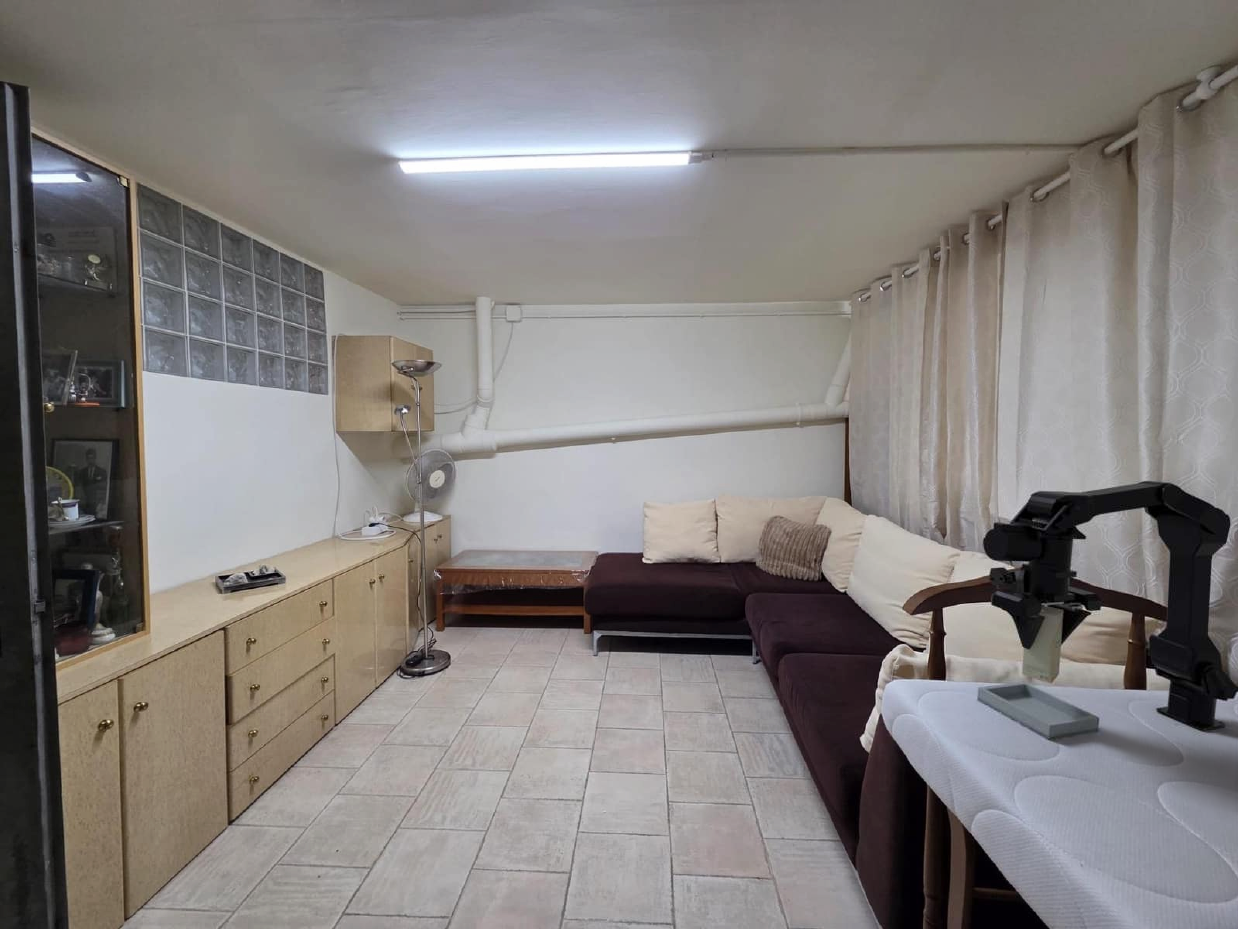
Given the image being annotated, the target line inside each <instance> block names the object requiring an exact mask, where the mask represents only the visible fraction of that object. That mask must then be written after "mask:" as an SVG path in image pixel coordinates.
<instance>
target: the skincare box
mask: <svg viewBox="0 0 1238 929" xmlns="http://www.w3.org/2000/svg"><path fill="white" fill-rule="evenodd" d="M1038 615H1041V616H1044V617H1045V619H1044V621H1043V623H1042V626H1041V628H1040V630H1039V632H1038V634H1037V636H1036V639H1035V641H1034V643H1033V645H1032V646H1031V648H1030V649H1026V648H1024V647H1023V649H1022V650H1023V651H1022V652H1023V653H1022V664H1021V675H1023V676H1026V677H1028V678H1031V679H1036V680H1038V681H1042V682H1045V683H1049V684H1053V682H1054V681H1055V680H1056V679H1057V678H1058V676H1059V675H1060V667H1061V666H1060V662H1061V650H1062V645H1061V638H1062V624H1063V610H1062V609H1057V608H1052V607H1047V606H1042V610H1041V612H1040V613H1039V614H1038Z"/></svg>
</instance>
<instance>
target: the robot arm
mask: <svg viewBox="0 0 1238 929" xmlns="http://www.w3.org/2000/svg"><path fill="white" fill-rule="evenodd" d="M1137 509H1144V512H1145V513H1146V514H1147V515H1148V516H1150V517H1151V518H1152V519H1153V520H1155V521H1156V523H1157V532H1158V537H1159V538H1160V539H1161V540H1162V542H1163V544H1164V545H1165V546H1166V548H1167V549H1168V551H1169V566H1168V567H1169V569H1168V588H1167V589H1168V590H1167V608H1166V609H1167V611H1166V627H1165V628H1164V629H1163V630H1162V631H1161V632H1160V633H1158V634H1157V635H1156V634H1150V636H1149V638H1148V643H1149V648H1148V651H1147V656H1150V661H1151V664H1153V667H1154V670H1155V675H1156V676H1158V677H1162V678H1163V679H1166V680H1167V681H1169V690H1168V696H1167V698H1168V699H1167V706H1162V707H1156V708H1155V711H1156V712H1158V713H1160V714H1162V715H1164V716H1167V717H1169V718H1172V719H1175V720H1176V721H1179V722H1181V723H1183V724H1185V725H1188V726H1189V727H1190V726H1191V727H1193V728H1195V729H1197V730H1199V731H1200V730H1201V731H1209V730H1214V729H1220V728H1225V727H1226V723H1225V722H1223V721H1220V720H1218V719H1216V710H1217V709H1216V708H1217V702H1218V700H1220V701H1222V702H1223V701H1224V702H1228V701H1229V700H1234V699H1235V697H1236V695H1237V692H1238V685H1236V684H1235V682H1234V681H1233V680H1232V679H1231V678H1230V677H1229V676H1228V674H1226V672H1225V671H1224V670H1223V664H1222V656H1221V652H1220V651H1219V649H1218V647H1217V646H1216V645H1215V644H1214V641H1212V639H1211V637H1210V635H1209V624H1210V623H1209V620H1210V619H1209V618H1210V605H1211V604H1210V603H1211V601H1210V600H1211V584H1212V565H1213V564H1212V563H1213V556H1214V555H1215V554H1216V553H1217V552H1218V551H1219V550H1220V549H1221V548H1223V547H1224V546H1225V545H1226V544H1227V542H1228V539H1229V533H1230V529H1231V518H1230V515H1229V514H1227V513H1226V512H1225V511H1224V510H1222V509H1221V508H1219V507H1215V506H1214V505H1213V504H1212V503H1209V502H1207V501H1206V500H1203V499H1201V498H1199V497H1197V496H1195V495H1193V494H1190V493H1189V492H1186V491H1185V490H1184V489H1183V488H1181V487H1180V486H1178V485H1176V484H1174V483H1172V482H1165V481H1154V480H1153V481H1152V480H1143V481H1140V482H1137V483H1132V484H1126V485H1120V486H1119V485H1118V486H1113V487H1107V488H1100V489H1093V490H1088V491H1087V490H1086V491H1081V492H1080V491H1079V492H1076V491H1074V492H1073V491H1058V490H1057V491H1056V490H1055V491H1053V490H1051V491H1050V490H1039V491H1036V492H1033V493H1032V494H1030V497H1029V499H1028V500H1027V502H1026V503H1025V504H1024V505H1023V507H1022V508H1020V510H1019V511H1018V513H1016V515H1015V516H1014V517H1013V519H1012V520H1011V521H1010V522H1009V523H1006V522H998V521H996V522H994V523H993V528H992V529H989V530H988V531H987V533H986V534H985V535H984V536H985V537H983V540H982V545H983V546H982V547H983V550H984V553H985V554H986V556H987V557H988V558H989V559H990V560H992V561H996V562H997V561H998V562H1027V563H1022V564H1021V565H1020V568H1019V569H1020V570H1018V571H1008V569H1007V568H1006V567H991V568H990V570H989V574H988V580H989V582H990V584H992V585H993V586H996V589H997V590H996V591H995V592H993V593H991V598H990V599H991V600H990V604H991V606H993V607H996V608H999V609H1000V610H1002V611H1005V612H1006V613H1007V614H1009V615H1010V617H1011V619H1012V620H1013V623H1014V625H1015V628H1016V630H1017V634H1018V637H1019V641H1020V643H1021V646H1022V647H1023V648H1026V649H1030V648H1031V646H1032V645H1033V643H1034V641H1035V639H1036V636H1037V634H1038V632H1039V630H1040V628H1041V626H1042V623H1043V621H1044V619H1045V617H1044V616H1041V615H1038V614H1039V613H1040V612H1041V610H1042V606H1047V607H1052V608H1057V609H1062V610H1063V624H1062V638H1061V646H1062V645H1063V644H1064V643H1065V641H1067V640H1068V638H1069V637H1070V636H1071V635H1072V634H1073V632H1075V630H1076V629H1077V628H1078V627H1079V626H1080V624H1082V623H1083V622H1084V621H1085V619H1086V618H1088V617H1089V616H1091V615H1092V612H1094V611H1101V610H1102V608H1101V607H1102V599H1101V598H1100V597H1099V595H1098V594H1097V593H1095V592H1091V591H1087V590H1084V589H1081V588H1077V587H1072V586H1070V578H1077V573H1078V571H1076V570H1072V568H1071V566H1072V559H1073V558H1072V556H1073V548H1074V547H1073V546H1074V540H1086V539H1087V535H1085V534H1084V533H1083V532H1082V531H1080V530H1079V528H1077V526H1081V525H1083V524H1086V523H1089V522H1090V521H1092V519H1094V517H1098V516H1100V515H1105V514H1112V513H1119V512H1124V511H1125V512H1126V511H1131V510H1132V511H1133V510H1137ZM1004 589H1007V590H1004ZM1013 589H1016V590H1013ZM1083 607H1084V609H1083Z"/></svg>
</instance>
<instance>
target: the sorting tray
mask: <svg viewBox="0 0 1238 929" xmlns="http://www.w3.org/2000/svg"><path fill="white" fill-rule="evenodd" d="M976 699H977V701H978V700H979V701H978V702H980V703H982V702H983V703H984V705H985V706H987V705H988V707H989V708H991V709H992V708H994V709H995V710H994V709H993V710H994V711H996V710H997V711H996V712H998V713H1000V712H1001V713H1002V714H1001V713H1000V714H1001V715H1003V714H1004V715H1003V716H1005V715H1006V716H1005V717H1007V716H1008V717H1009V718H1008V717H1007V718H1008V719H1010V718H1011V719H1010V720H1012V719H1014V720H1015V721H1014V720H1013V721H1014V722H1015V723H1017V722H1019V723H1020V724H1019V723H1018V724H1019V725H1021V724H1022V725H1021V726H1023V727H1024V728H1026V727H1027V728H1026V729H1029V730H1030V731H1032V732H1034V733H1035V732H1036V733H1035V734H1036V735H1039V736H1040V737H1042V736H1043V737H1042V738H1044V737H1045V738H1044V739H1046V740H1048V739H1050V740H1055V739H1061V738H1066V737H1074V736H1078V735H1079V736H1081V735H1084V734H1085V735H1086V734H1091V733H1098V732H1099V729H1100V728H1099V726H1100V717H1099V716H1097V715H1094V714H1093V713H1090V712H1088V711H1086V710H1084V709H1082V708H1080V707H1078V706H1076V705H1074V704H1071V703H1070V702H1068V701H1066V700H1064V699H1061V698H1059V697H1057V696H1055V695H1053V694H1050V693H1048V692H1047V691H1044V690H1042V689H1040V688H1039V687H1036V686H1034V685H1032V684H1030V683H1028V682H1025V681H1020V682H1019V681H1018V682H1011V683H1004V684H996V685H988V686H980V687H978V688H977V698H976ZM983 703H982V704H983Z"/></svg>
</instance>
